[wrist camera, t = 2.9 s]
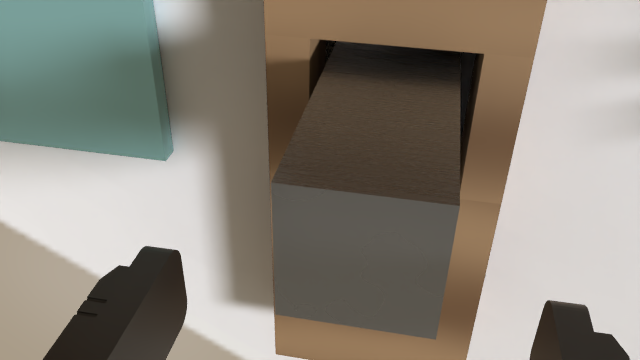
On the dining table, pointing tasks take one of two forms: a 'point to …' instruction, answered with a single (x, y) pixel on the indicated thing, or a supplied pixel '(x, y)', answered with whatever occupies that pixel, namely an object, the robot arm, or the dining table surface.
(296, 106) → the brown slotted block
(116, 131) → the teal pad
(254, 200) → the dining table surface
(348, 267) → the steel plug
